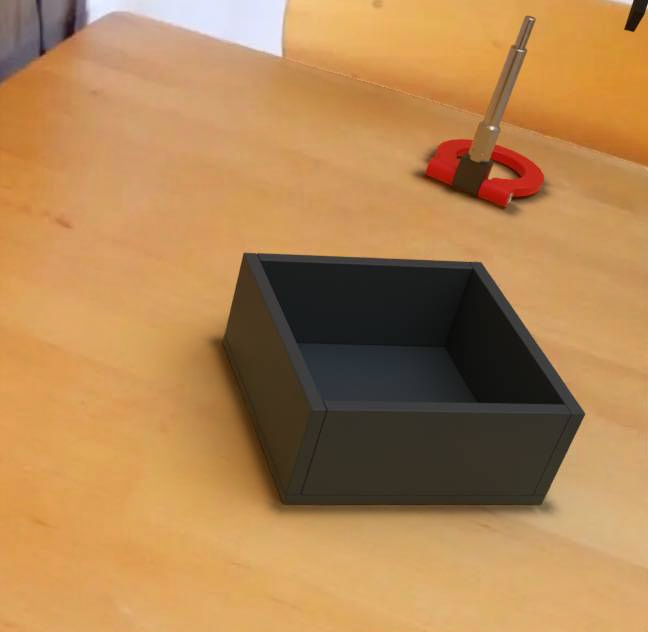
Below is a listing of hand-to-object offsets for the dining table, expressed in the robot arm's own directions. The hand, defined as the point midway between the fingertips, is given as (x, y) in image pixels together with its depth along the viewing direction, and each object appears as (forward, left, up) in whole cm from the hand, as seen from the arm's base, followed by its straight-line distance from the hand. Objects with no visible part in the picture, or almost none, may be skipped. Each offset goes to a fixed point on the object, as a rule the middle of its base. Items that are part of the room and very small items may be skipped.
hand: (542, 0), depth 93 cm
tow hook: (+3, +5, -12) cm, 13 cm away
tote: (+22, +36, -12) cm, 44 cm away
